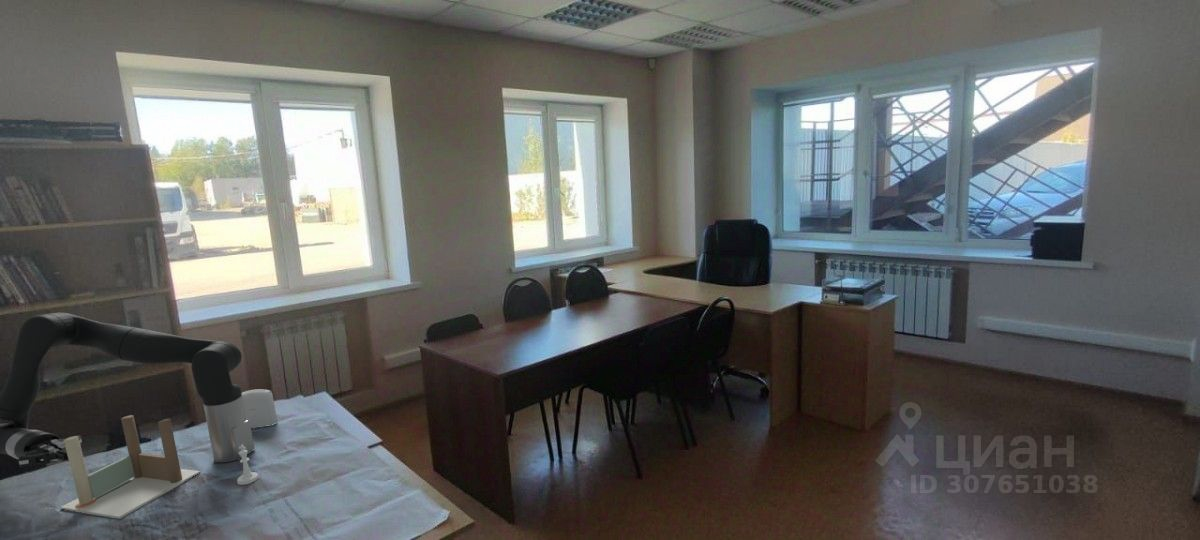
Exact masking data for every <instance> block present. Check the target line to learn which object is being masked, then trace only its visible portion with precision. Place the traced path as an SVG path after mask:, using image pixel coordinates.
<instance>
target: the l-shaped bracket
mask: <svg viewBox="0 0 1200 540" xmlns="http://www.w3.org/2000/svg"><path fill="white" fill-rule="evenodd" d="M64 439H65V440H64V443H65V447H66V451H67V455H68V459H69V461H68V463H69V467H70V471H71V474H72V479H73V483H74V484H73V485H74V487H75V491H76V495H77V499H78V500H79V504H80V505H83V504H87V503H89V502H91V501H93V498H95V497H97V496H99V495H101V494H103V493H105V492H107V491H108V490H110V489H112V488H114V487H116V486H118V485H120V484H122V483H124V482H126V481H127V480H129V479H131V478H133V477H135V475H134V470H133V466H132V461H131V457H130V456H129V455H126V456H124V457H122V458H120V459H117V460H116V461H114V462H112V463H109V464H107V465H106V466H104V467H101V468H100V469H98V470H96V471H93V472H91V473H88V472H87V471H88V470H87V468H86V463H85V459H84V453H83V450H82V445H80V441H79V437H78V436H77V435H75V436H73V435H72V436H69V437H67V438H64Z"/></svg>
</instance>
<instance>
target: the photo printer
mask: <svg viewBox="0 0 1200 540" xmlns="http://www.w3.org/2000/svg"><path fill="white" fill-rule="evenodd" d="M241 393H242V399H243V405H244V410H245V416H246V420H249V421H250V426H251V428H253V429H255V428H254V427H259V426H266V425H272V424H274V423H276V422H277V423H278V416H277V411H276V406H275V399H274V395H273V394H274V393H273V392H272V390H269V389H260V388H259V389H258V388H257V389H251V390H250V389H249V390H246V391H243V392H241Z"/></svg>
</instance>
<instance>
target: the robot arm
mask: <svg viewBox="0 0 1200 540" xmlns="http://www.w3.org/2000/svg"><path fill="white" fill-rule="evenodd" d="M61 346H82V347H89V348H94V349H96V350H100V351H101V352H103V353H105V354H107V355H108V356H110V357H112V358H115V359H118V360H121V361H125V362H131V363H137V364H146V365H148V364H150V365H151V364H153V365H155V364H158V365H159V364H174V363H187V364H191V371H192V376H193V380H194V384H195V387H196V391H197V394H198V396H199V397H200V398H201V399H202V404H203V409H204V414H205V420H206V425H207V430H208V435H209V440H210V445H211V446H210V447H211V451H212V452H211V453H212V456H213V461H214V462H216V463H219V464H220V463H229V462H233V461H240V460H241V459H242V458H241V456H240V455H239V452H240V451H241V449H239V447H241V445H243V446H244V447H246V449H244V450H247V451H248V453H249V452H251V451H252V450H253V449H255V444H254V438H253V433H252V429H251V426H250V421H249V420H246V416H245V410H244V405H243V399H242V393H243V392H242V389H241V386H240V385H238V384H235V383H232V380H231V376H230V375H231V374H230V373H231V372H232V371H233V370H235V369H236V368H237V367H238V366H239V365H240V363H241V361H242V358H243V357H242V352H241V350H240V349H239V348H238V347H237V345H234V344H232V343H230V342H227V341H221V340H212V339H198V338H190V337H185V336H180V335H176V334H171V333H164V332H159V331H156V330H152V329H144V328H140V327H135V326H128V325H121V324H115V323H107V322H100V321H96V320H93V319H89V318H86V317H84V316H83V317H82V316H81V315H75V314H72V313H67V312H60V311H59V312H51V313H44V314H38V315H34V316H31V317H30V318H28V319H27V320H25V321H24V322H23V323H22V325H21V327H20V331H19V333H18V336H17V341H16V346H15V350H14V354H13V358H12V361H11V362H12V363H11V366H10V370H9V374H8V376H7V379H6V382H5V384H4V387H3V388H2V391H1V392H0V420H3V421H10V422H7V423H6V422H5V423H0V455H6V456H9V457H12V458H14V459H16V460H18V463H19V468H28V467H34V466H39V465H40V466H41V465H46V464H50V463H51V462H52V461H54V462H55V461H61V462H62V461H63V462H64V461H66V462H69V459H68V455H67V451H66V447H65V443H64V440H65V439H66V438H60V437H59V436H57V435H56V434H54V433H52V432H51V433H50V432H48V431H47V432H46V431H43V430H39V429H29V426H28V425H29V420H30V413H31V410H32V409H33V406H34V404H35V402H36V400H37V398H38V396H39V393H40V389H41V378H40V366H41V363H42V361H43V359H44V358H45V356H46V354H47V353H48V352H49V350H50V349H51V348H56V347H61ZM76 436H78V437H79V441H80V445H81V446H82V445H83V440H82V436H81V435H80V434H79V435H78V434H77V435H76ZM252 452H253V451H252ZM252 452H251V453H252ZM248 453H247V454H248ZM249 454H250V453H249ZM249 454H248V455H249Z"/></svg>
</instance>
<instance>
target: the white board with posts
mask: <svg viewBox="0 0 1200 540" xmlns="http://www.w3.org/2000/svg"><path fill="white" fill-rule="evenodd" d="M120 420H121V425H122V429H123V433H124V439H125V444H126V447H127V452H128V456H130V457H131V461H132V466H133V470H134V475H135V477H133V478H131V479H129V480H127V481H126V482H124V483H122V484H120V485H118V486H116V487H114V488H112V489H110V490H108V491H107V492H105V493H103V494H101V495H99V496H97V497H95V498H93V501H91V502H89V503H87V504H83V505H80V504H79V500H78V498H76V499H73V500H72V501H69V502H68V503H66V504H64V505H61V506H60V510H62V509H65V510H64V511H68V510H69V512H74V511H75V513H80V512H81V513H82V514H88V515H93V516H98V517H105V518H112V519H116V520H120V519H122V518H125V517H126V516H128V515H130V514H131V513H133V512H134V511H136V510H138V509H140V508H143V506H145V505H147V504H149V503H151V502H153V501H154V500H155V499H158V498H160V497H161V496H163V495H165V494H166V493H168V492H170V491H172V490H174V489H175V488H177V487H179V486H180V485H182V484H183V483H186V482H188V481H189V480H191V479H193V478H194V477H196V476H198V475H199V474H198V473H200V474H201V471H200V470H192V469H185V468H181V465H180V460H179V456H178V451H177V444H176V441H175V436H174V431H173V427H172V426H173V425H172V422H171V421H172V420H171V418H164V419H161V420H159V421H158V422H157V425H158V430H159V434H160V439H161V444H162V448H163V452H164V455H162V454H155V453H154V454H153V453H146V452H142V450H141V448H142V447H141V443H140V439H139V435H138V430H137V426H136V425H137V424H136V421H135V417H134V415H131V414H130V415H126V416H123V417H121V418H120ZM197 474H198V475H197ZM195 475H196V476H195ZM193 476H194V477H193ZM192 477H193V478H192ZM190 478H191V479H190ZM188 479H189V480H188ZM185 481H186V482H185Z"/></svg>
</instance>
